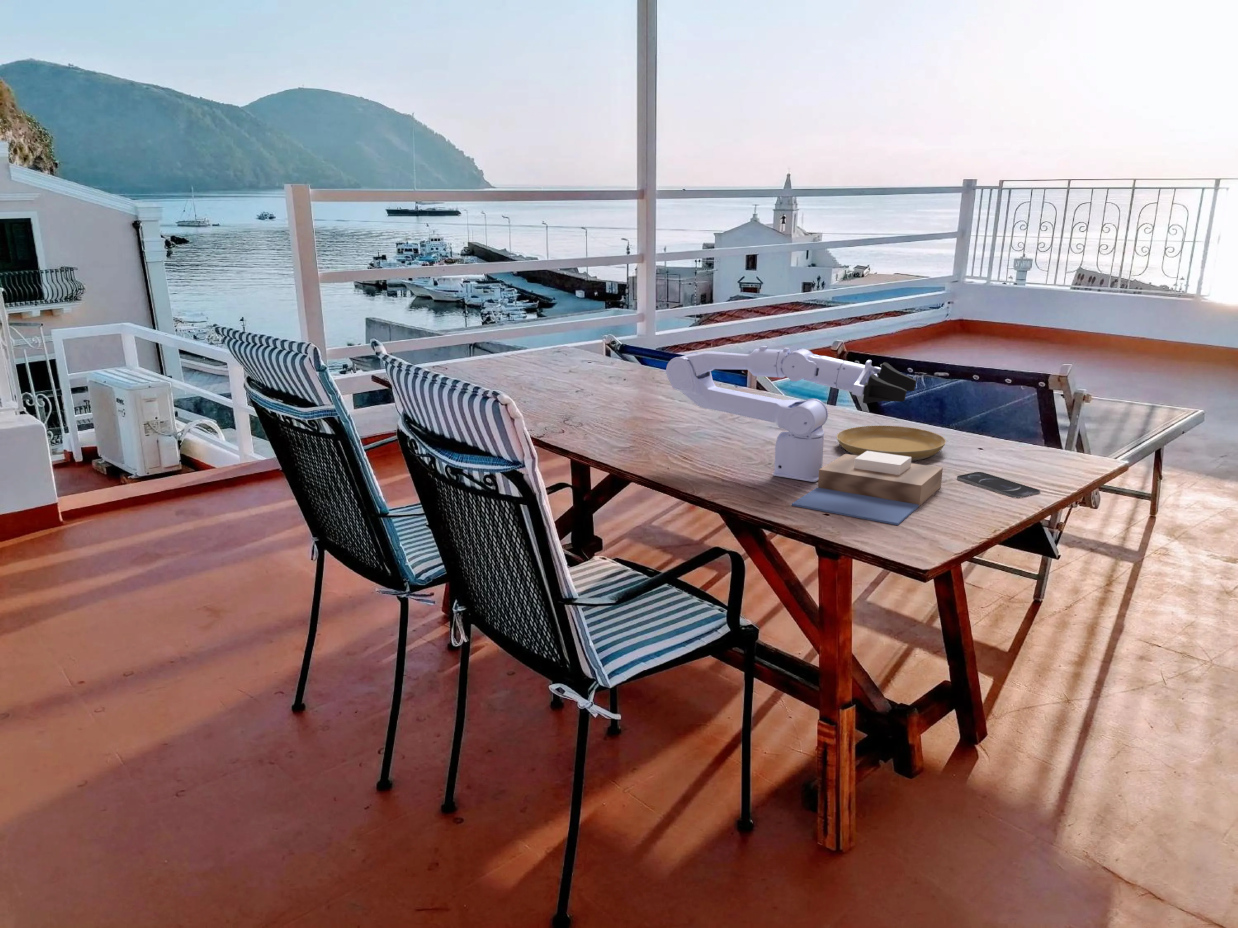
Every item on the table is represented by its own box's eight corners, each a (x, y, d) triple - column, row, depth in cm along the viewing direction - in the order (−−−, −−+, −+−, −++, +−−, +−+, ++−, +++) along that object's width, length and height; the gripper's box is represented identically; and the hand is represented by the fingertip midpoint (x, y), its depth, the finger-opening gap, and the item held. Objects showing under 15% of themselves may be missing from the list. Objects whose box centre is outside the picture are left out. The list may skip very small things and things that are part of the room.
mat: (791, 505, 158) (791, 503, 158) (817, 489, 167) (817, 487, 167) (897, 525, 146) (898, 523, 146) (918, 506, 156) (918, 504, 156)
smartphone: (1016, 496, 159) (954, 476, 172) (1016, 501, 160) (953, 480, 172) (1043, 490, 162) (979, 471, 175) (1042, 495, 163) (979, 475, 176)
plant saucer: (880, 470, 180) (881, 455, 179) (815, 445, 202) (816, 431, 201) (968, 457, 189) (969, 443, 188) (896, 434, 210) (897, 421, 209)
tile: (854, 468, 167) (854, 458, 166) (866, 460, 172) (867, 450, 172) (899, 475, 162) (900, 465, 161) (910, 466, 167) (911, 456, 167)
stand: (818, 488, 167) (818, 469, 166) (844, 471, 178) (845, 453, 177) (919, 505, 156) (921, 485, 155) (940, 487, 167) (942, 467, 166)
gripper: (833, 364, 160) (905, 380, 154) (856, 347, 171) (923, 362, 165) (827, 398, 163) (897, 416, 157) (849, 380, 174) (915, 395, 168)
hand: (910, 390), depth 161 cm, fingers open, 7 cm apart
